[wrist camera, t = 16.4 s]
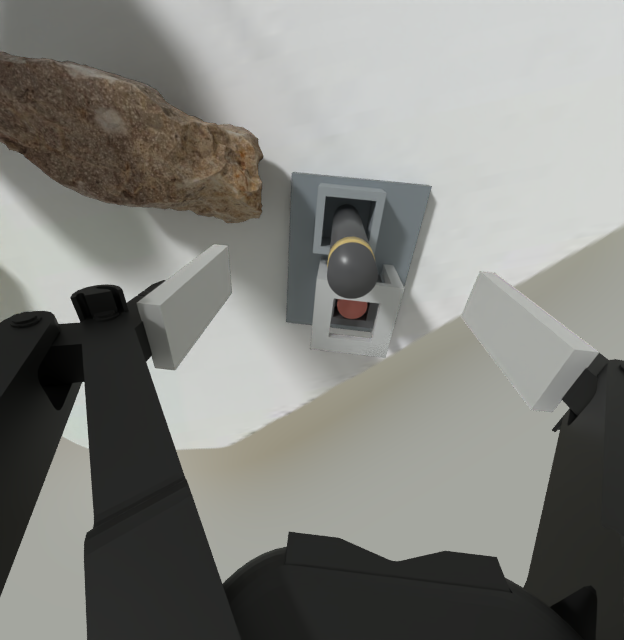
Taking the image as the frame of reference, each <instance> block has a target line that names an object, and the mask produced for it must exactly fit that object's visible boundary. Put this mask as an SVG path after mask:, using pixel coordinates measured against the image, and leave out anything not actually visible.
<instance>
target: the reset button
mask: <svg viewBox="0 0 624 640" xmlns="http://www.w3.org/2000/svg"><path fill="white" fill-rule="evenodd" d="M337 308H338V311H339V313H340V314H341V315H342V316H343V317H345V318H348V319H356V318H359V317H361V316H362V315H363V314H364V313H365V312H366V310H367V302H362V301H353V300H344V299H338V300H337Z"/></svg>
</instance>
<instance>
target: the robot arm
mask: <svg viewBox="0 0 624 640" xmlns="http://www.w3.org/2000/svg"><path fill="white" fill-rule="evenodd" d="M231 294H232V288H231V275H230V262H229V250H228V246H226V245H216V244H213V245H212V246H211V247H210V248H208V249H207V250H206V251H204V252H203V253H202V254H200V255H199V256H198V257H196V258H195V259H194V260H192V261H191V262H190V263H188V264H187V265H186V266H184V267H183V268H182V269H181V270H179V271H178V272H177V273H175V274H174V275H173V276H171V277H170V278H169V279H167V280H163V281H160V282H158V283H155V284H152V285H151V286H149V287H148V288H147V289H145V291H143V292H141V293H140V294H138V296H136V297H134V298H133V299H132V300H130V301H129V302H127V303H126V300H125V297H124V294H123V290H122V289H121V288H120V287H119V286H115V285H95V286H91V287H86V288H83V289H81V290H78V291H77V292H75V293H73V294H72V296H71V300H72V303H73V305H74V308H75V310H76V312H77V315H78V317H79V319H80V323H68V324H58V322H57V320H56V318H55V316H54V314H52V313H51V312H47V311H33V312H23V313H20V314H16V315H13V316H12V317H10V318H8V319H5V320H3V321H2V322H1V323H0V596H1V593H2V591H3V588H4V585H5V583H6V580H7V578H8V575H9V572H10V570H11V567H12V564H13V562H14V559H15V556H16V554H17V551H18V549H19V546H20V544H21V541H22V538H23V536H24V533H25V530H26V528H27V525H28V523H29V520H30V517H31V515H32V512H33V509H34V507H35V504H36V501H37V499H38V496H39V493H40V491H41V489H42V486H43V483H44V481H45V478H46V475H47V473H48V470H49V467H50V465H51V462H52V460H53V457H54V455H55V452H56V449H57V447H58V444H59V441H60V439H61V436H62V434H63V431H64V428H65V426H66V423H67V420H68V418H69V415H70V413H71V410H72V407H73V405H74V402H75V400H76V397H77V394H78V392H79V389H80V386H81V384H82V382H85V396H86V410H87V424H88V438H89V452H90V466H91V481H92V494H93V509H94V527H93V529H92V530H90V531H89V532H87V534H86V538H85V542H84V570H85V595H86V618H87V640H624V361H622V360H616V359H615V360H608V359H606V358H605V357H604V356H603V355H601V354H600V353H599V352H598V351H597V350H596V349H595V348H593V347H592V346H591V345H589V344H588V343H587V342H585V341H584V340H583V339H581V338H580V337H579V336H577V335H576V334H575V333H573V332H572V331H571V330H570V329H568V328H567V327H566V326H564V325H563V324H562V323H560V322H559V321H558V320H556V319H555V318H554V317H552V316H551V315H550V314H548V313H547V312H546V311H544V310H543V309H542V308H540V307H539V306H538V305H537V304H535V303H534V302H533V301H531V300H530V299H529V298H527V297H526V296H525V295H523V294H522V293H521V292H520V291H518V290H517V289H516V288H514V287H513V286H512V285H510V284H509V283H508V282H506V281H505V280H504V279H502V278H501V277H500V276H498V275H497V274H496V273H492V272H482V271H480V272H479V275H478V277H477V279H476V282H475V284H474V287H473V289H472V291H471V294H470V296H469V298H468V301H467V303H466V306H465V308H464V310H463V313H462V315H461V318H462V319H463V321H464V322H465V323H466V325H467V326H468V327H469V329H470V330H471V331H472V333H473V334H474V335H475V337H476V338H477V339H478V341H479V342H480V343H481V344H482V345H483V347H484V348H485V350H486V351H487V352H488V354H489V355H490V356H491V358H492V359H493V360H494V362H495V363H496V364H497V365H498V367H499V368H500V369H501V371H502V372H503V374H504V375H505V376H506V377H507V379H508V380H509V381H510V383H511V384H512V385H513V387H514V388H515V389H516V391H517V392H518V393H519V395H520V396H521V397H522V399H523V400H524V401H525V403H526V404H527V405H528V407H529V408H530V409H531V410H538V411H546V412H553V411H554V409H555V408H556V407H557V406H558V404H559V403H560V402H561V401H562V400H563V401H564V402H565V403H566V404H567V405H568V407H569V408H570V409H569V410H568V411H567V412H566V413H565V415H564V416H563V417H562V418H561V419H560V421H559V422H558V423H557V424H556V426H555V427H554V428H553V429H552V431H554V432H556V431H557V430H560V433H559V438H558V442H557V447H556V452H555V456H554V460H553V465H552V470H551V474H550V478H549V483H548V488H547V492H546V496H545V501H544V506H543V510H542V515H541V519H540V524H539V528H538V533H537V537H536V542H535V546H534V551H533V555H532V560H531V564H530V569H529V574H528V578H527V581H526V583H525V585H524V587H523V588H522V587H521V586H519V585H517V584H515V583H514V582H512V581H510V580H508V579H506V578H505V577H504V575H503V572H502V570H501V567H500V565H499V562H498V559H497V557H491V556H483V555H475V554H467V553H458V552H450V551H443V552H438V553H434V554H429V555H425V556H420V557H416V558H411V559H407V560H403V561H391V560H388V559H386V558H384V557H381V556H379V555H377V554H374V553H372V552H370V551H368V550H365V549H363V548H361V547H359V546H356V545H354V544H352V543H350V542H347V541H345V540H343V539H340V538H336V537H328V536H319V535H311V534H302V533H295V532H289V535H288V543H287V547H283V548H279V549H275V550H272V551H269V552H267V553H264V554H262V555H260V556H258V557H256V558H255V559H253V560H251V561H249V562H248V563H246V564H245V565H244V566H242V567H241V568H239V569H238V570H237V571H236V572H235V573H234V574H233V575H231V576H230V577H229V578H228V579H227V580H226V581H225V582H224V583H223V584H222V582H221V579H220V576H219V573H218V570H217V567H216V564H215V562H214V558H213V556H212V553H211V550H210V547H209V544H208V541H207V538H206V535H205V532H204V529H203V526H202V523H201V520H200V517H199V515H198V512H197V509H196V506H195V503H194V500H193V497H192V494H191V491H190V488H189V485H188V483H187V480H186V479H185V476H184V473H183V470H182V467H181V464H180V461H179V458H178V456H177V452H176V449H175V446H174V443H173V440H172V437H171V435H170V432H169V429H168V426H167V423H166V420H165V417H164V414H163V411H162V408H161V405H160V402H159V399H158V396H157V393H156V390H155V387H154V384H153V381H152V378H151V375H150V372H149V369H148V366H147V363H146V361H147V360H148V359H149V358H150V357H151V356H152V359H153V363H154V366H155V368H159V369H168V370H176V368H177V367H178V366H179V364H180V363H181V362H182V360H183V359H184V358H185V356H186V355H187V353H188V352H189V351H190V349H191V348H192V347H193V345H194V344H195V343H196V341H197V340H198V339H199V337H200V336H201V334H202V333H203V332H204V330H205V329H206V328H207V326H208V325H209V324H210V322H211V321H212V319H213V318H214V317H215V315H216V314H217V313H218V311H219V310H220V309H221V307H222V306H223V304H224V303H225V302H226V300H227V299H228V298H229V296H230V295H231Z"/></svg>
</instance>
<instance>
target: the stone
mask: <svg viewBox="0 0 624 640" xmlns="http://www.w3.org/2000/svg"><path fill="white" fill-rule="evenodd" d="M0 142H2V143H4V144H6V146H7V147H8V148H9V150H13V151H17V152H19V153H21V154H23V155H24V156H25V157H26V158H27V159H28V160H30V161H31V162H32V163H33V164H35V165H36V166H37V167H38V168H40V169H41V170H42V171H43V172H44V173H46V174H47V175H48V176H49V177H50V178H52V179H53V180H55V181H56V182H58V183H60V184H61V185H63V186H65V187H67V188H69V189H72V190H74V191H76V192H78V193H80V194H82V195H84V196H87V197H90V198H94V199H98V200H100V201H103V202H106V203H113V204H118V205H126V206H130V207H155V208H160V209H168V208H170V209H174V210H178V211H186V210H191V211H193V212H194V213H196V214H197V215H202V216H207V217H212V216H214V217H215V218H218V219H222V220H224V221H225V222H226V223H240V222H244V221H246V220H248V219H251V218H259V217H260V215H261V213H262V210H261V208H262V204H261V190H262V181H261V180H260V178H259V175H258V163H259V161H260V160H261V159H262V158H263V154H262V151H261V149H260V147H259V144H258V138H256V137H255V136H254V135H253V134H252V133H251V132H250V131H248V130H246V129H245V128H243V127H235V126H233V125H231V124H223V125H217V124H216V123H207V122H204V121H202V120H201V119H199V118H197V117H195V116H189V115H187V114H185V113H184V112H182V111H181V110H179V109H177V108H175V107H173V106H171V105H170V104H169V103H167V102H166V101H165V100H164V98H163V97H162V96H161V94H160V93H159V92H158V91H157V90H156V89H154V88H152V87H150V86H148V85H146V84H143V83H141V82H138V81H135V80H131V79H126V78H124V77H122V76H120V75H116V74H112V73H108V72H105V71H102V70H98V69H95V68H92V67H89V66H87V65H80V64H77V63H74V62H70V61H64V62H59V61H55V60H52V59H46V58H41V59H34V58H26V57H19V56H12V55H10V54H7V53H5V52H0Z"/></svg>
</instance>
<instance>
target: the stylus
mask: <svg viewBox="0 0 624 640" xmlns="http://www.w3.org/2000/svg"><path fill="white" fill-rule="evenodd" d="M327 267H328V270H327V280H328V284H329V286H330V288H331V289H332V291H333V292H334V293H336V294H337V295H339V296H341V297H343V298H347V299H356V298H360V297H363V296H365V295H366V294H368V293H369V292H370V291H371V290H372V289H373V288H374V286H375V285H376V282H377V279H378V269H377V266H376V263H375V257H374V254H373V251H372V249H371V247H370V245H369V242H368V239H367V236H366V233H365V230H364V227H363V224H362V221H361V218H360V215H359V212H358V210H357V209H356V208H355V207H354V206H353V205H350V204H344V205H341V206H339V207H338V208H337V209H336V211H335V213H334V216H333V224H332V233H331V243H330V252H329V255H328V263H327Z"/></svg>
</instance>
